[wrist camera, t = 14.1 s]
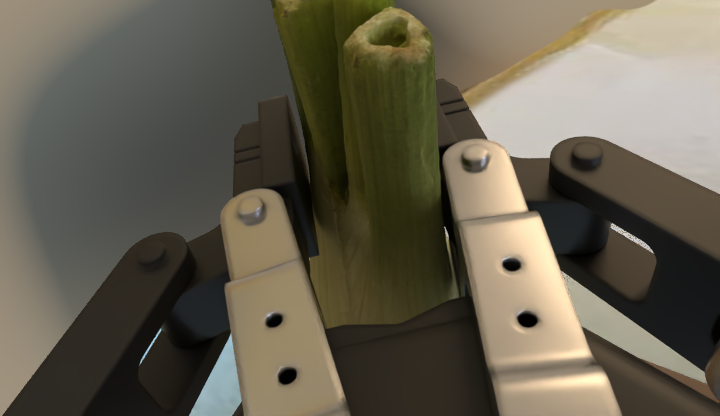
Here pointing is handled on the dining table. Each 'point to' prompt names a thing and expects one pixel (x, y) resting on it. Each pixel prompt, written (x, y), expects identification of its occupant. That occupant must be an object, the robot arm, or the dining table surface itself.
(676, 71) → the dining table surface
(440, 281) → the fennel bulb
